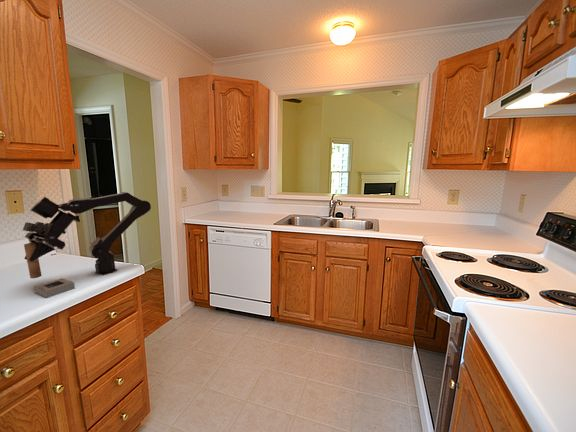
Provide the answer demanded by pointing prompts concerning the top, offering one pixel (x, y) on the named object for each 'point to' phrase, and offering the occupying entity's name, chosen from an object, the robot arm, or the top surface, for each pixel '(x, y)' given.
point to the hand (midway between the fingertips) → (27, 260)
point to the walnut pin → (32, 265)
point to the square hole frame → (54, 287)
